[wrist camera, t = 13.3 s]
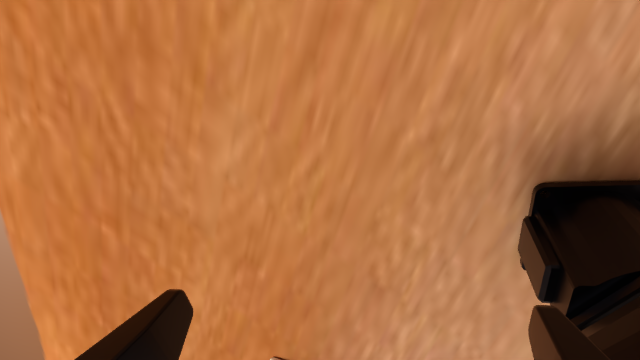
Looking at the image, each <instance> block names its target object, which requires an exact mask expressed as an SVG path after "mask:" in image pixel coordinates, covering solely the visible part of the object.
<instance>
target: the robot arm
mask: <svg viewBox="0 0 640 360" xmlns="http://www.w3.org/2000/svg"><path fill="white" fill-rule="evenodd" d="M543 191H547V193H545V194H541V192H543ZM518 251H519V254H520V256H521V259H520V263H521V266H522V268H523V269H524V270H526V271H527V274H528V276H529V279H530V281H531V284H532V286H533V289H534V291H535V294H536V296H537V298H538V299H539V300H540V301H541V302H542V303H550V305H551V306H548V305H536V306H534V308H533V310H532V315H531V319H530V324H529V329H528V332H529V340H530V344H531V348H532V353H533V357H534V360H640V181H607V182H572V183H543V184H539V185H537V186H536V187H535V188H534V190H533V193H532V199H531V204H530V210H529V215H528V216H526V217H525V218H524V219H523V223H522V228H521V234H520V240H519V245H518ZM192 317H193V308H192V305H191V303H190V301H189V299H188V297H187V296H186V294H185V292H184V291H183V290H180V289H169V290H167V291H165V292H164V293H163V294H161V295H160V296H159V297H157V298H156V299H155V300H153V301H152V302H151V303H149V304H148V305H147V306H145V307H144V308H143V309H141V310H140V311H139V312H137V313H136V314H135V315H133V316H132V317H131V318H129V319H128V320H127V321H125V322H124V323H123V324H121V325H120V326H119V327H117V328H116V329H115V330H113V331H112V332H111V333H109V334H108V335H107V336H105V337H104V338H103V339H101V340H100V341H99V342H97V343H96V344H95V345H93V346H92V347H91V348H89V349H88V350H87V351H85V352H84V353H83V354H81V355H80V356H79V357H77V358H76V359H75V360H179V357H180V354H181V351H182V348H183V345H184V342H185V339H186V335H187V332H188V329H189V326H190V323H191V320H192Z"/></svg>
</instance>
